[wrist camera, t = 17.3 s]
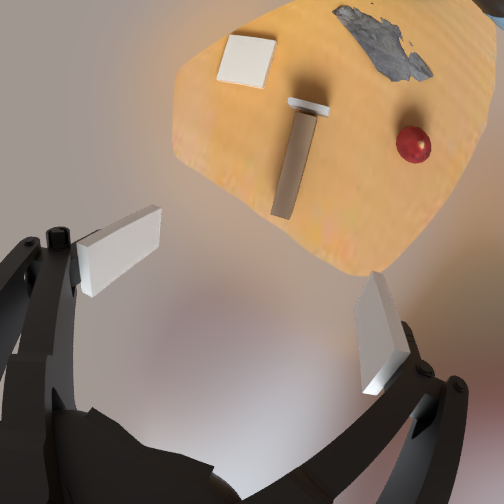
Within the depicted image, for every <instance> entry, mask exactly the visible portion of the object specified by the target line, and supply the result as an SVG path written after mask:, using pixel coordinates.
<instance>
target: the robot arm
mask: <svg viewBox="0 0 504 504" xmlns="http://www.w3.org/2000/svg"><path fill="white" fill-rule="evenodd" d="M472 1H473V2H474V3H475V4H476V5H477V6H478V7H479V8H480V9H481V10H482V11H483V13H485V14H486V15H487V16H488V17H489V18H490V19H491V20H492V21H493V22H494V23H495V24H496V25H497V26H498V27H499V28H501V29H503V30H504V0H472ZM161 211H162V208H161V207H158V206H154V205H151V206H148V207H146V208H144V209H142V210H140V211H138V212H135V213H134V214H131V215H129V216H127V217H125V218H123V219H121V220H119V221H117V222H115V223H113V224H111V225H109V226H107V227H105V228H103V229H100V230H96V231H95V232H92V233H91V234H89V235H87V236H85V237H83V238H81V239H80V240H77V241H75V242H74V243H72V244H71V242H70V230H69V229H68V228H66V227H54V228H51V229H49V230H47V232H46V240H47V248H43V247H41V245H40V239H39V238H37V237H27V238H25V239H23V240H22V241H20V242H19V243H18V244H17V245H16V246H15V248H14V249H13V250H12V251H11V252H10V253H9V254H8V255H7V256H6V257H5V258H4V260H3V261H2V262H1V263H0V381H1V378H2V375H3V373H4V370H5V368H6V365H7V368H6V375H5V382H4V391H3V401H2V420H1V421H0V504H333V500H334V499H335V498H336V497H337V496H338V495H339V494H340V493H341V492H342V491H343V490H344V489H346V488H347V487H348V486H349V485H350V484H351V483H352V482H353V481H354V480H355V479H356V478H357V477H358V476H359V475H360V474H361V473H362V472H363V471H364V470H365V469H366V468H367V467H368V466H369V465H370V463H372V461H373V460H374V459H375V458H376V457H377V456H378V455H379V454H380V453H381V451H382V450H383V449H384V448H385V447H386V446H387V444H388V443H389V442H390V441H391V440H392V438H393V437H394V436H395V434H396V433H397V432H398V431H399V429H400V428H401V427H402V425H403V424H404V423H405V421H406V420H407V419H408V417H412V418H413V421H412V424H411V427H410V430H409V432H408V435H407V438H406V440H405V443H404V446H403V448H402V450H401V453H400V455H399V458H398V460H397V462H396V465H395V467H394V469H393V471H392V473H391V475H390V477H389V480H388V482H387V484H386V486H385V488H384V490H383V491H382V493H381V495H380V497H379V499H378V501H377V502H376V504H448V502H449V499H450V496H451V492H452V489H453V485H454V482H455V478H456V474H457V470H458V466H459V461H460V456H461V451H462V446H463V440H464V433H465V426H466V418H467V407H468V394H469V391H468V387H467V384H466V383H465V382H464V380H463V379H461V378H460V377H458V376H451V377H449V378H448V380H447V381H446V382H444V381H442V380H440V379H438V378H436V377H434V376H435V373H434V370H433V368H432V367H431V366H430V365H429V364H428V363H427V362H426V361H424V360H421V357H420V354H419V351H418V348H417V345H416V343H415V339H414V338H413V337H414V336H413V333H412V330H411V328H410V327H409V326H408V324H407V323H406V322H403V321H400V318H399V315H398V312H397V309H396V307H395V304H394V301H393V298H392V296H391V293H390V290H389V288H388V285H387V282H386V280H385V277H384V275H383V274H381V273H378V272H375V271H371V274H370V276H369V278H368V280H367V283H366V285H365V287H364V289H363V291H362V293H361V295H360V297H359V300H358V302H357V304H356V306H355V308H354V312H355V320H356V327H357V336H358V346H359V356H360V367H361V381H362V392H363V393H366V394H372V395H377V394H378V393H379V392H380V391H381V390H382V389H383V388H384V391H385V393H384V394H383V395H382V396H381V397H380V398H379V399H378V400H377V401H376V402H375V403H374V404H373V405H372V406H371V407H370V408H369V409H368V410H367V411H366V412H365V413H364V414H363V415H362V416H361V417H360V418H358V419H357V420H356V421H355V422H354V423H353V424H352V425H351V426H350V427H349V428H348V429H346V430H345V431H344V432H343V433H342V434H341V435H339V436H338V437H337V438H336V439H335V440H334V441H332V442H331V443H330V444H329V445H327V446H326V447H325V448H324V449H322V450H321V451H320V452H319V453H317V454H316V455H315V456H313V457H312V458H311V459H309V460H308V461H306V462H305V463H304V464H302V465H301V466H299V467H297V468H296V469H294V470H293V471H291V472H289V473H288V474H286V475H285V476H284V477H282V478H280V479H279V480H277V481H275V482H274V483H272V484H271V485H269V486H267V487H265V488H264V489H262V490H260V491H259V492H257V493H255V494H254V495H251V496H250V497H248V498H246V499H244V500H241V498H240V497H239V495H238V494H237V492H236V491H235V490H234V489H233V488H232V487H231V486H230V485H229V484H228V483H227V482H226V481H224V480H223V479H222V478H220V477H219V476H217V475H215V474H214V473H212V471H213V469H214V466H212V465H209V464H206V463H203V462H200V461H197V460H195V459H192V458H190V457H187V456H184V455H182V454H177V453H173V452H167V451H163V450H158V449H154V448H150V447H146V446H144V445H142V444H141V443H140V442H139V441H137V440H136V439H135V438H134V437H133V436H132V435H131V434H129V433H128V432H127V431H126V430H125V429H124V428H123V427H122V426H121V425H120V424H119V423H117V422H115V421H114V420H112V419H110V418H109V417H107V416H105V415H104V414H102V413H101V412H99V411H97V410H96V409H94V408H93V407H92V408H91V410H90V411H89V412H88V413H87V412H83V411H77V409H76V406H75V401H74V385H73V335H74V318H75V317H74V316H75V305H76V296H77V289H76V285H77V284H79V283H80V282H81V287H82V292H83V293H85V294H87V295H89V296H91V297H92V298H93V297H94V296H95V295H96V294H98V293H99V292H100V291H101V290H103V289H104V288H105V287H106V286H108V285H109V284H110V283H112V282H113V281H114V280H115V279H117V278H118V277H119V276H121V275H122V274H123V273H124V272H126V271H127V270H128V269H130V268H131V267H132V266H134V265H135V264H136V263H137V262H139V261H140V260H142V259H143V258H144V257H146V256H147V255H148V254H150V253H151V252H152V251H154V250H155V249H156V248H158V247H159V234H160V222H161ZM24 274H25V280H24ZM21 332H22V333H21ZM20 334H21V338H20V343H19V349H18V353H17V354H12V351H13V349H14V347H15V345H16V342H17V340H18V338H19V336H20Z"/></svg>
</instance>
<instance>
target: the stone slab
mask: <svg viewBox="0 0 504 504" xmlns="http://www.w3.org/2000/svg"><path fill="white" fill-rule="evenodd" d="M371 4H373V3H371ZM332 12H333V13H334V14H335V15H336V16H338V17H337V18H338V19H339V20H340V22H341V23H342V24H343V25H344V26H345V27H346V28H347V29H348V30H349V32H350V33H351V34H352V35H353V36H354V37H355V38H356V40H357V41H358V42H359V44H360V45H361V46H362V48H363V49H364V50H365V52H366V53H367V54H368V56H369V57H370V59H371V60H372V62H373V64H374V65H375V67H376V69H377V70H378V71H379V72H381V73H382V74H384V75H385V76H387V77H388V78H389V79H390V80H391V81H394V82H395V81H396V82H398V81H400V80H407V81H409V78H410V76H412V77H414V78H415V79H416V80H418V81H419V82H420V81H423V80H425V79H427V78H430V77H433V74H432V73H431V71H430V70H429V68H428V67H427V65H426V64H425V63H424V61H423V60H422V59H421V57H420V56H419V55H418V54H417V53H415V52H414V53H410V55H409V58H408V57H407V55H406V54H405V52H404V49H403V48H402V47H401V44H400V41H399V37H400V38H401V39H402V36H401V32H400V30H399V27H398V26H397V25H392V24H391V23H390V22H389V21H387V20H385V19H382V17H381V20H382V22H383V23H381V22H379V21H377V20H376V19H374V18H373V17H372V16H369V15H367V14H365V13H361V12H360V11H359V10H358V9H357V8H355V7H354V8H353V9H352V8H351V7H349V6H345V7H344V6H341V7H339V8H338V9H336V10H334V11H332ZM398 36H399V37H398ZM402 41H403V39H402ZM403 42H404V41H403ZM409 42H410V41H409ZM410 44H411V43H410ZM411 46H413V45H412V44H411Z"/></svg>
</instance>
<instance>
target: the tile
mask: <svg viewBox="0 0 504 504" xmlns="http://www.w3.org/2000/svg"><path fill="white" fill-rule="evenodd" d="M276 48H277V42H276V41H274V40H268V39H262V38H255V37H247V36H239V35H230V36H229V39H228V42H227V45H226V48H225V52H224V55H223V58H222V62H221V65H220V68H219V72H218V75H217V80H219V81H221V82H228V83H234V84H240V85H245V86H250V87H256V88H260V89H265V85H266V82H267V78H268V75H269V71H270V68H271V64H272V61H273V58H274V54H275V51H276Z"/></svg>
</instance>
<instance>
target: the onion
mask: <svg viewBox="0 0 504 504" xmlns="http://www.w3.org/2000/svg"><path fill="white" fill-rule="evenodd" d="M396 146H397V150H398V152H399V154H400V155H401V157H403V158H404V159H405V160H406V161H408V162H411V163H414V164H415V163H421V162H424V161H425V160H426V159H427V158H428V157H429V155H430V152H431V142H430V139H429V137H428V136H427V134H426V133H425V132H424V131H423V130H421V129H420V128H418V127H413V126H410V127H406V128H404V129H403V130H401V131H400V132H399V134H398V136H397V140H396Z"/></svg>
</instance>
